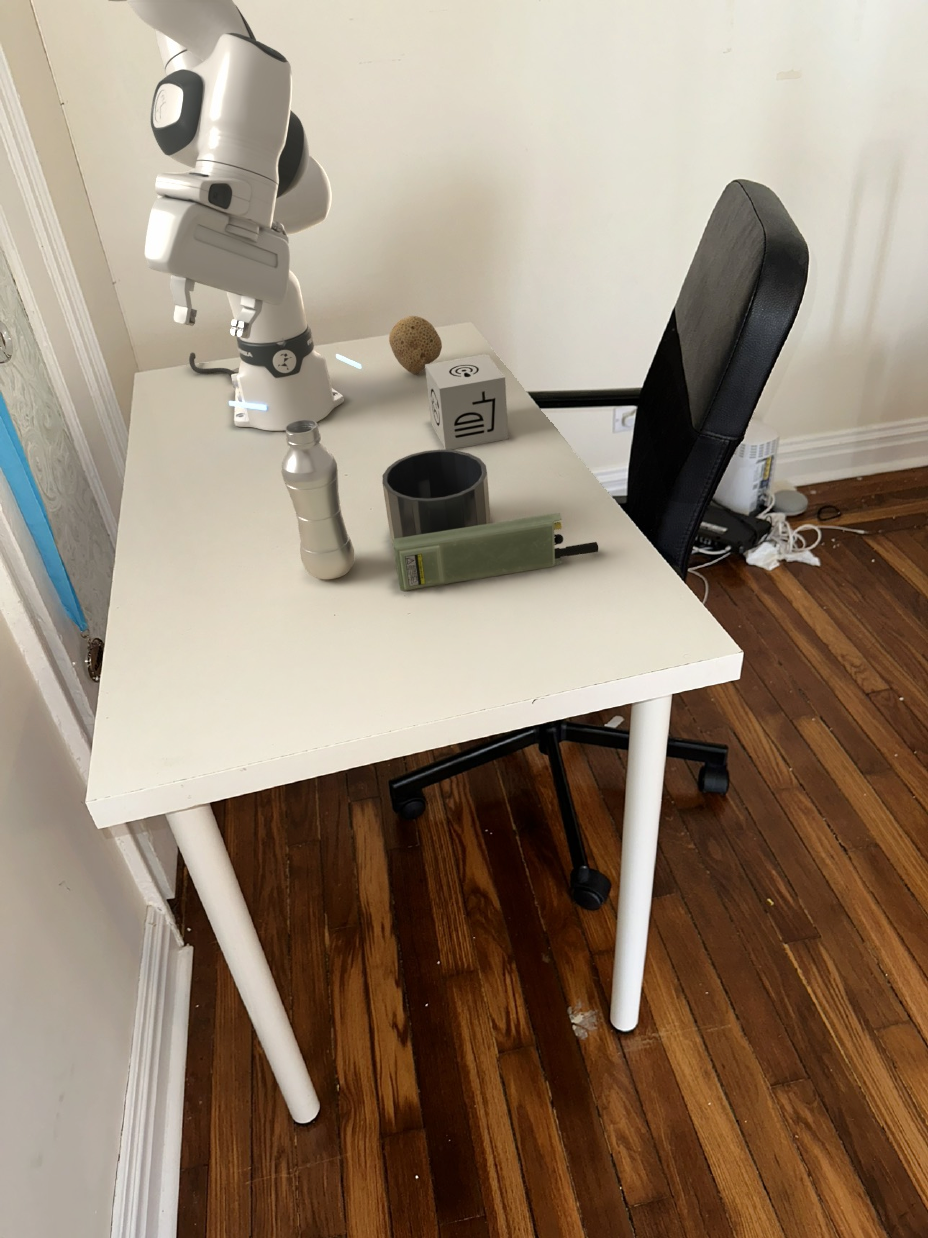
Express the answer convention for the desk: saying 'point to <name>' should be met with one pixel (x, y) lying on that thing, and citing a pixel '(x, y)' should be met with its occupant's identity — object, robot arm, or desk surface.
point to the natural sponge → (415, 343)
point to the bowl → (435, 493)
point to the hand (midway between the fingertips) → (212, 330)
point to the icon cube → (467, 401)
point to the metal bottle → (316, 502)
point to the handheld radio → (482, 551)
